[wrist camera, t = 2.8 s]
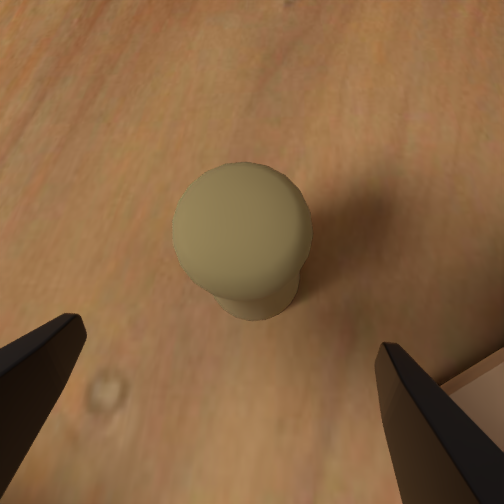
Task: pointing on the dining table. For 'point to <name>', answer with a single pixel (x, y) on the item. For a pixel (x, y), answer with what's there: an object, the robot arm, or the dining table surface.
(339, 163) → the dining table surface
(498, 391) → the tan square slab
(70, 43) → the dining table surface
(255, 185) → the olive game pawn
